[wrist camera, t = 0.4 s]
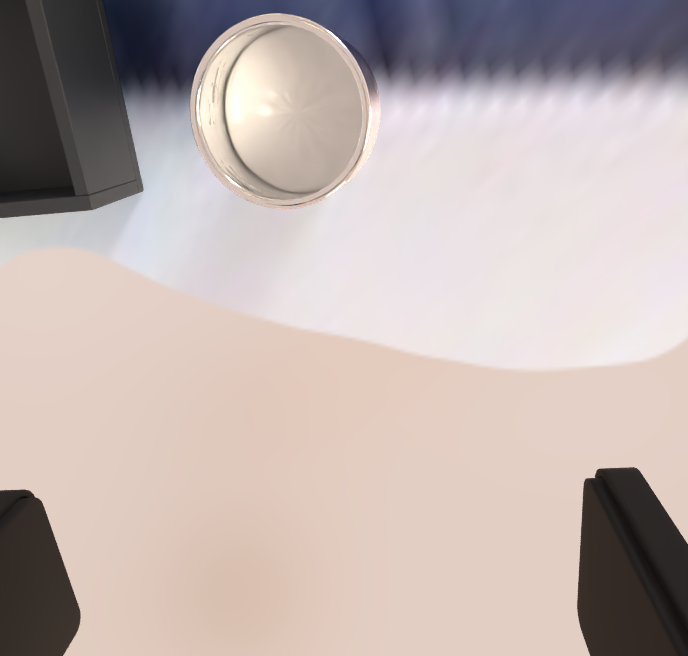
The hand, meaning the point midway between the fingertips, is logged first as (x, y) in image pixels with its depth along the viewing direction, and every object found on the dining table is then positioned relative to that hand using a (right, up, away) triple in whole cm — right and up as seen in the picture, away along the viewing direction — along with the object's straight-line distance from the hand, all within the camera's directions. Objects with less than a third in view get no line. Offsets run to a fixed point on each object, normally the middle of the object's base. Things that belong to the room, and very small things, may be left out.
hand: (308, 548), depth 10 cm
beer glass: (0, +17, +25) cm, 30 cm away
